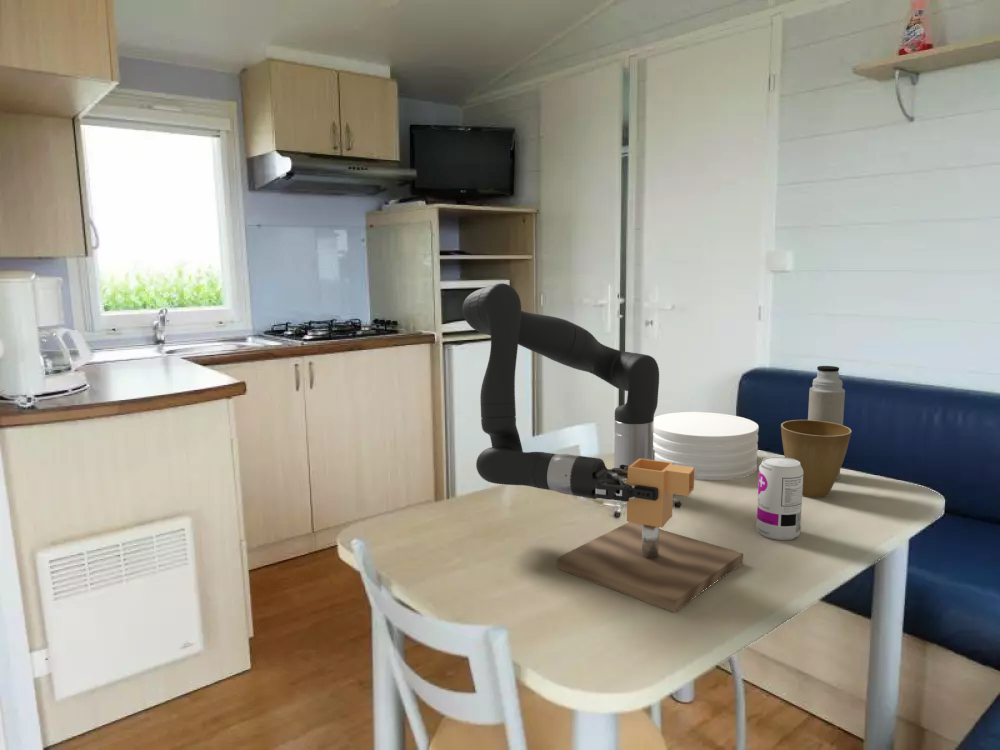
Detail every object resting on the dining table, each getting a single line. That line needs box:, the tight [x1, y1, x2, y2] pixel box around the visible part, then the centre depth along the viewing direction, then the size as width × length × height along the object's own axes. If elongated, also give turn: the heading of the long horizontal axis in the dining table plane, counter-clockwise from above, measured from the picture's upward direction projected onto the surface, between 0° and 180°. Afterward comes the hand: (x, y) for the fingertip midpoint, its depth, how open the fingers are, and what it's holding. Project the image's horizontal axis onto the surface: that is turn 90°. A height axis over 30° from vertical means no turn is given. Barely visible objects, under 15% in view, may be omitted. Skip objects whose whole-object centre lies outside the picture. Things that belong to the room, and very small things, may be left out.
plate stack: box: [653, 411, 760, 481], centre depth 188 cm, size 28×28×12 cm
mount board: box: [556, 522, 744, 613], centre depth 127 cm, size 24×24×2 cm
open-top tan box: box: [626, 458, 695, 528], centre depth 123 cm, size 10×6×10 cm, turn 61°
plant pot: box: [780, 419, 852, 499], centre depth 162 cm, size 15×15×16 cm
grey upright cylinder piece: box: [642, 524, 660, 559], centre depth 126 cm, size 3×3×8 cm
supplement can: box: [756, 456, 803, 541], centre depth 139 cm, size 8×8×15 cm
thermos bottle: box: [807, 365, 846, 480], centre depth 174 cm, size 8×8×28 cm
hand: (663, 488), depth 123 cm, fingers closed on open-top tan box, 6 cm apart
